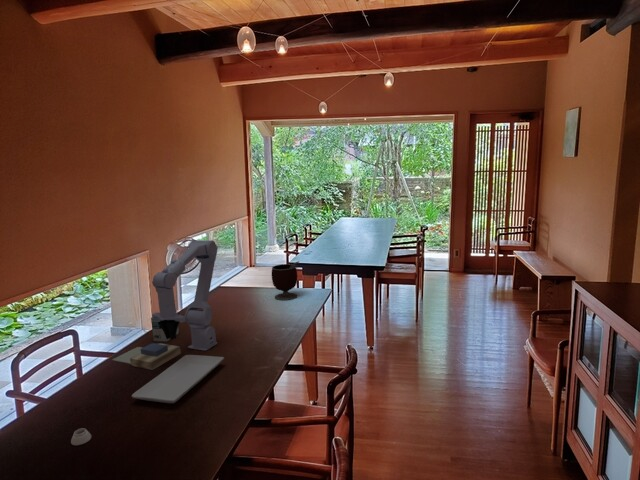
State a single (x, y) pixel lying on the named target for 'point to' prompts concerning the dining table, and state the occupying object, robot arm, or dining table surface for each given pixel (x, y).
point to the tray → (178, 379)
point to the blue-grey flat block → (154, 349)
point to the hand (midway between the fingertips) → (171, 338)
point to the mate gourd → (285, 280)
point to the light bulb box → (159, 331)
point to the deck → (155, 358)
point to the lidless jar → (80, 437)
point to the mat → (128, 355)
